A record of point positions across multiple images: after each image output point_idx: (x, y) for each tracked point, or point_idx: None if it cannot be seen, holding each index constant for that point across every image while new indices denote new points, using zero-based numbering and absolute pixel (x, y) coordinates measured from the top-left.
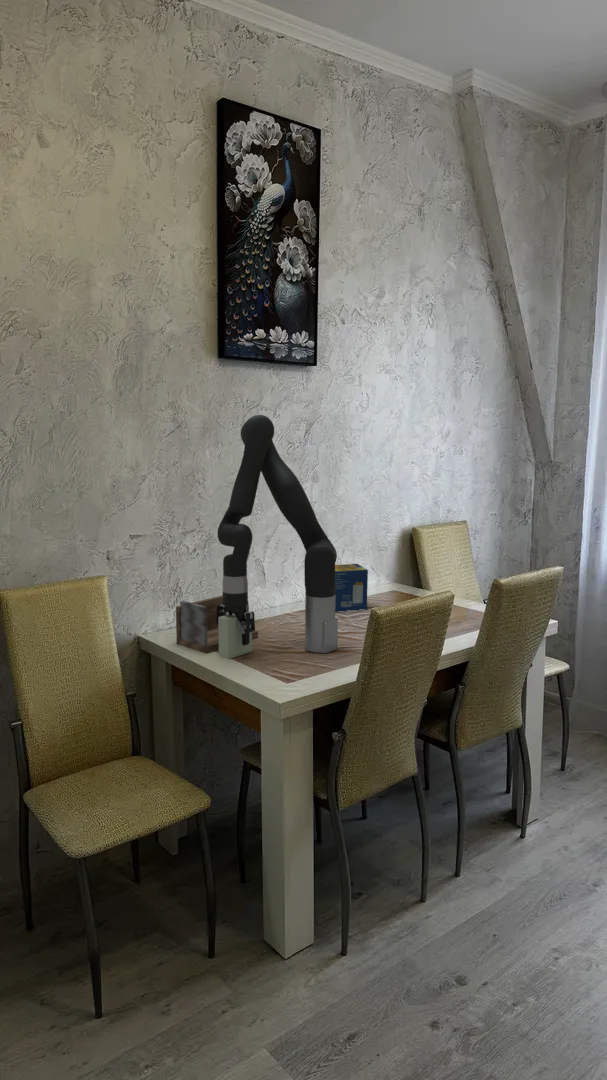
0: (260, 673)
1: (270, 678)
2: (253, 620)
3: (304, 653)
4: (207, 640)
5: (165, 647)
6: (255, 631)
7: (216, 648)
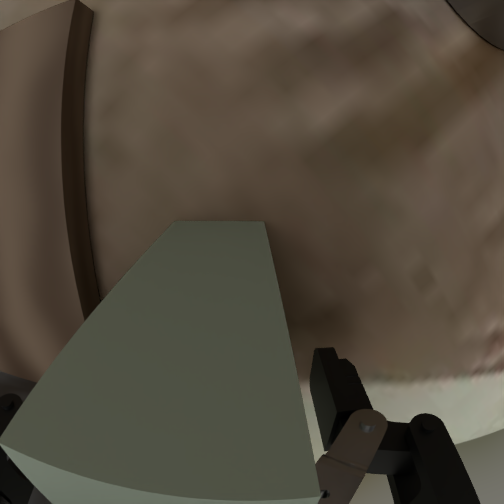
0: (460, 386)
1: (493, 383)
2: (467, 500)
3: (493, 76)
4: (30, 344)
5: None
6: (64, 10)
7: None
